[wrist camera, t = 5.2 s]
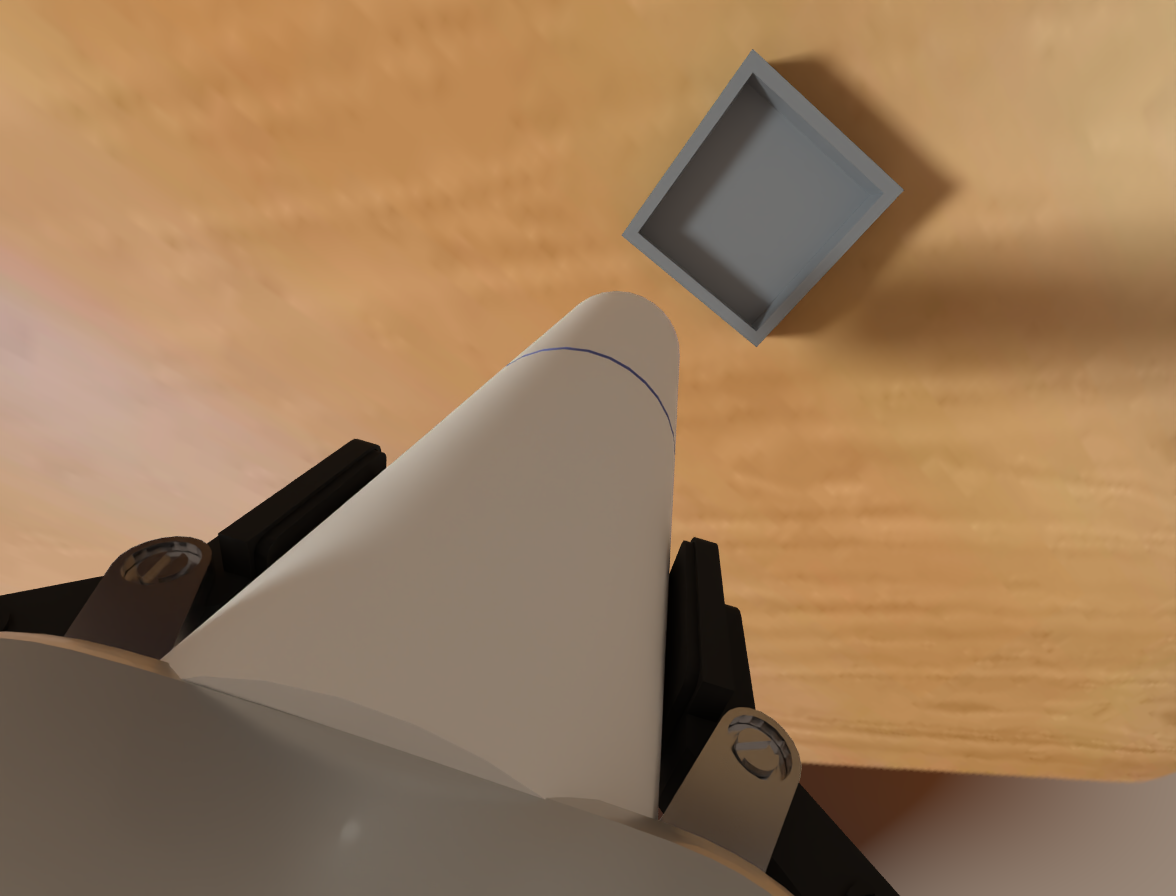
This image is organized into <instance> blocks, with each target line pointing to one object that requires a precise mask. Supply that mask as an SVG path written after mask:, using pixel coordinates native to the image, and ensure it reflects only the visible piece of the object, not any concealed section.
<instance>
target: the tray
mask: <svg viewBox="0 0 1176 896" xmlns="http://www.w3.org/2000/svg"><path fill="white" fill-rule="evenodd" d="M903 191H904V190H903V189H902V188H901V187H900V186H899V185H898V184H897V183H896V182H895V181H894V180H893V179H892V178H891V177H890V176H888V175H887V174H886V173H885V172H884V171H883V170H882V169H881V168H880V167H879V166H878V165H877V164H876V163H874V162H873V161H872V160H871V159H870V158H869V157H868V156H867V155H866V154H865V153H864V152H863V151H862V150H861V149H859V148H858V147H857V146H856V145H855V144H854V143H853V142H852V141H851V140H850V139H849V138H848V137H847V136H846V135H844V134H843V133H842V132H841V131H840V130H839V129H838V128H837V127H836V126H835V125H834V124H833V123H832V122H830V121H829V120H828V119H827V118H826V117H825V116H824V115H823V114H822V113H821V112H820V111H819V110H818V109H817V108H815V107H814V106H813V105H812V104H811V103H810V102H809V101H808V100H807V99H806V98H805V97H804V96H803V95H802V94H800V93H799V92H798V91H797V90H796V89H795V88H794V87H793V86H792V85H791V84H790V83H789V82H788V81H787V80H785V79H784V78H783V77H782V76H781V75H780V74H779V73H778V72H777V71H776V70H775V69H774V68H773V67H771V66H770V65H769V64H768V63H767V62H766V61H765V60H764V59H763V58H762V57H761V56H760V55H759V54H758V53H756V52H755V51H754V50H753V49H752V51H751V52H750V53H749V55H748V56H747V58H746V59H745V61H744V62H743V63H742V65H741V66H740V68H739V69H738V70H737V72H736V73H735V75H734V76H733V78H732V79H731V80H730V82H729V83H728V85H727V86H726V88H725V89H724V90H723V92H722V93H721V95H720V96H719V97H718V99H717V100H716V102H715V103H714V105H713V106H712V107H711V109H710V110H709V112H708V113H707V115H706V116H705V117H704V119H703V120H702V122H701V123H700V125H699V126H698V127H697V129H696V130H695V132H694V133H693V134H692V136H691V137H690V139H689V140H688V142H687V143H686V144H685V146H684V147H683V149H682V150H681V152H680V153H679V154H678V156H677V157H676V159H675V160H674V162H673V163H672V164H671V166H670V167H669V169H668V170H667V171H666V173H665V174H664V176H663V177H662V179H661V180H660V181H659V183H658V184H657V186H656V187H655V189H654V190H653V191H652V193H651V194H650V196H649V197H648V198H647V200H646V201H645V203H644V204H643V206H642V207H641V208H640V210H639V211H638V213H637V214H636V216H635V217H634V218H633V220H632V221H631V223H630V224H629V226H628V227H627V228H626V230H625V231H624V233H623V234H622V236H623V237H624V238H625V239H627V240H628V241H629V242H630V243H631V244H633V245H634V246H635V247H636V248H637V249H639V250H640V251H641V252H642V253H644V254H645V255H646V256H647V257H648V258H650V259H651V260H652V261H653V262H654V263H656V264H657V265H658V266H659V267H660V268H662V269H663V270H664V271H665V272H666V273H668V274H669V275H670V276H671V277H672V278H674V279H675V280H676V281H677V282H679V283H680V284H681V285H682V286H683V287H685V288H686V289H687V290H688V291H689V292H691V293H692V294H693V295H694V296H695V297H697V298H698V299H699V300H700V301H701V302H703V303H704V304H705V305H706V306H708V307H709V308H710V309H711V310H712V311H714V312H715V313H716V314H717V315H718V316H720V317H721V318H722V319H723V320H724V321H726V322H727V323H728V324H729V325H730V326H732V327H733V328H734V329H735V330H737V331H738V332H739V333H740V334H741V335H743V336H744V337H745V338H746V339H747V340H749V341H750V342H751V343H752V344H753V345H755V346H756V347H757V346H758V345H759V344H760V343H761V342H762V341H763V340H764V339H765V337H766V336H767V335H768V334H769V333H770V332H771V331H772V330H773V329H774V328H775V327H776V326H777V325H778V324H779V323H780V321H781V320H782V319H783V318H784V317H785V316H786V315H787V314H788V313H789V312H790V311H791V310H792V309H793V308H794V307H795V306H796V304H797V303H798V302H799V301H800V300H801V299H802V298H803V297H804V296H805V295H806V294H807V293H808V292H809V291H810V290H811V288H812V287H813V286H814V285H815V284H816V283H817V282H818V281H819V280H820V279H821V278H822V277H823V276H824V275H825V274H826V273H827V271H828V270H829V269H830V268H831V267H832V266H833V265H834V264H835V263H836V262H837V261H838V260H839V259H840V258H841V257H842V256H843V254H844V253H845V252H846V251H847V250H848V249H849V248H850V247H851V246H852V245H853V244H854V243H855V242H856V241H857V240H858V238H859V237H860V236H861V235H862V234H863V233H864V232H865V231H866V230H867V229H868V228H869V227H870V226H871V225H872V224H873V223H874V221H875V220H876V219H877V218H878V217H879V216H880V215H881V214H882V213H883V212H884V211H885V210H886V209H887V208H888V207H889V205H890V204H891V203H892V202H893V201H894V200H895V199H896V198H897V197H898V196H899V195H900V194H901V193H902V192H903Z"/></svg>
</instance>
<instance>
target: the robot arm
mask: <svg viewBox="0 0 1176 896" xmlns="http://www.w3.org/2000/svg"><path fill="white" fill-rule="evenodd" d="M385 469H386V454H385V453H383V452H381V448H380V446H379V445H376V444H373V443H369V442H366V441H363V440H359V439H353V440H351V441H350V442H348V443H347V444H346V445H344V446H343V447H341V448H340V449H338V450H337V451H336V452H334V453H333V454H331V455H330V456H328V457H327V458H325V459H324V460H323V461H321V462H320V463H318V464H317V465H315V466H314V467H313V468H311V469H310V470H308V471H307V472H305V473H304V474H303V475H301V476H300V477H298V478H297V479H295V480H294V481H293V482H291V483H290V484H288V485H287V486H285V487H284V488H283V489H281V490H280V491H278V492H277V493H275V494H274V495H273V496H271V497H270V498H268V499H267V500H265V501H264V502H262V503H261V504H260V505H258V506H257V507H255V508H254V509H252V510H251V511H250V512H248V513H247V514H245V515H244V516H242V517H241V518H240V519H238V520H237V521H235V522H234V523H232V524H231V525H230V526H228V527H227V528H225V529H224V530H222V531H221V532H220V533H218V536H217V537H216V538H214V539H213V540H211V541H210V542H209V543H207V544H206V543H205V542H203V541H202V540H199V539H196V538H192V537H181V536H174V537H165V538H159V539H155V540H151V541H147V542H144V543H142V544H140V545H137V546H135V547H133V548H131V549H129V550H128V551H126V552H124V553H123V554H121V555H120V556H119V557H118V558H117V559H116V560H115V561H114V562H113V563H112V564H111V566H110V567H109V569H108V570H107V572H106V573H105V575H104V576H101V577H95V578H90V579H85V580H80V581H74V582H69V583H64V584H59V585H54V586H48V587H43V588H38V589H33V590H27V591H22V592H17V593H12V594H6V595H1V596H0V896H899V894H898V893H897V892H896V891H895V890H894V889H893V888H892V886H891V885H890V884H889V883H888V882H887V881H886V880H885V879H884V877H883V876H882V875H881V874H880V873H879V872H878V871H877V870H876V869H875V867H874V866H873V865H872V864H871V863H870V862H869V861H868V860H867V858H866V857H865V856H864V855H863V854H862V853H861V852H860V851H859V849H858V848H857V847H856V846H855V845H854V844H853V843H852V842H851V841H850V839H849V838H848V837H847V836H846V835H845V834H844V833H843V832H842V830H841V829H840V828H839V827H838V826H837V825H836V824H835V823H834V821H833V820H832V819H831V818H830V817H829V816H828V815H827V814H826V813H825V811H824V810H823V809H822V808H821V807H820V806H819V805H818V804H817V803H816V801H815V800H814V799H813V798H812V797H811V796H810V795H809V793H808V792H807V791H806V790H805V789H804V788H803V787H802V786H801V785H800V783H799V780H800V774H801V768H802V766H801V761H800V756H799V753H798V751H797V748H796V746H795V744H794V742H793V740H792V739H791V738H790V736H789V735H788V734H787V732H786V731H785V730H784V729H783V728H782V727H781V726H780V725H779V724H778V723H777V722H776V721H775V720H774V719H772V718H771V717H769V716H767V715H766V714H764V713H762V712H760V711H757V710H755V703H754V697H753V690H752V684H751V677H750V670H749V664H748V657H747V651H746V644H745V638H744V631H743V625H742V618H741V614H740V610H739V609H738V608H736V607H733V606H729V605H726V604H725V602H724V593H723V585H722V576H721V567H720V559H719V550H718V545H717V544H716V543H713V542H710V541H706V540H703V539H699V538H696V537H694V538H693V539H692V540H691V542H688V541H683V542H682V544H681V546H680V549H679V551H678V554H677V556H676V559H675V561H674V564H673V566H672V569H671V571H670V574H669V588H668V609H667V631H666V652H665V674H664V695H663V717H662V738H661V760H660V781H659V803H658V806H659V808H660V809H661V811H662V812H663V816H662V818H661V819H660V821H658V820H656V819H653V818H650V817H647V816H644V815H641V814H638V813H636V812H633V811H630V810H627V809H624V808H621V807H618V806H615V805H612V804H610V803H607V802H604V801H601V800H596V799H585V798H571V797H556V798H546V799H542V798H539V797H536V796H533V795H530V794H527V793H524V792H521V791H518V790H516V789H513V788H510V787H507V786H504V785H501V784H498V783H495V782H492V781H489V780H486V779H483V778H480V777H477V776H474V775H471V774H469V773H466V772H463V771H460V770H457V769H454V768H451V767H448V766H445V765H442V764H439V763H436V762H433V761H430V760H427V759H424V758H422V757H419V756H416V755H413V754H410V753H407V752H404V751H401V750H398V749H395V748H392V747H389V746H386V745H383V744H380V743H377V742H374V741H371V740H368V739H365V738H362V737H359V736H356V735H353V734H350V733H347V732H344V731H341V730H338V729H335V728H332V727H329V726H326V725H323V724H319V723H316V722H313V721H310V720H307V719H304V718H301V717H298V716H295V715H292V714H289V713H286V712H283V711H280V710H276V709H273V708H270V707H267V706H264V705H261V704H258V703H254V702H251V701H248V700H245V699H242V698H239V697H236V696H232V695H229V694H226V693H223V692H220V691H217V690H214V689H210V688H207V687H204V686H201V685H198V684H195V683H192V682H189V681H185V680H182V679H180V677H179V676H178V675H177V674H176V672H175V671H174V670H173V669H172V668H171V667H170V665H169V663H168V662H164V661H161V660H160V659H162V658H163V657H164V656H165V655H166V654H168V653H169V652H170V651H171V650H172V649H173V648H175V647H176V646H177V645H178V644H179V643H181V642H182V641H183V640H184V639H185V638H186V637H188V636H189V635H190V634H191V633H192V632H193V631H195V630H196V629H197V628H198V627H199V626H201V625H202V624H203V623H204V622H205V621H206V620H208V619H209V618H210V617H211V616H212V615H214V614H215V613H216V612H217V611H218V610H219V609H221V608H222V607H223V606H224V605H225V604H227V603H228V602H229V601H230V600H231V599H232V598H234V597H235V596H236V595H237V594H238V593H239V592H241V591H242V590H243V589H244V588H245V587H247V586H248V585H249V584H250V583H251V582H252V581H254V580H255V579H256V578H257V577H258V576H260V575H261V574H262V573H263V572H264V571H265V570H267V569H268V568H269V567H270V566H271V565H273V564H274V563H275V562H276V561H277V560H278V559H280V558H281V557H282V556H283V555H284V554H286V553H287V552H288V551H289V550H290V549H291V548H293V547H294V546H295V545H296V544H297V543H298V542H300V541H301V540H302V539H303V538H304V537H306V536H307V535H308V534H309V533H310V532H311V531H313V530H314V529H315V528H316V527H317V526H319V525H320V524H321V523H322V522H323V521H324V520H326V519H327V518H328V517H329V516H330V515H332V514H333V513H334V512H335V511H336V510H337V509H339V508H340V507H341V506H342V505H343V504H344V503H346V502H347V501H348V500H349V499H350V498H352V497H353V496H354V495H355V494H356V493H357V492H359V491H360V490H361V489H362V488H363V487H365V486H366V485H367V484H368V483H369V482H370V481H372V480H373V479H374V478H375V477H376V476H378V475H379V474H380V473H381V472H382V471H383V470H385Z"/></svg>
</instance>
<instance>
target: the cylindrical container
mask: <svg viewBox="0 0 1176 896" xmlns="http://www.w3.org/2000/svg"><path fill="white" fill-rule="evenodd" d="M679 360H680V354H679V342H678V339H677V335H676V331H675V329H674V327H673V326H672V324H671V322H670V320H669V319H668V317H667V316H666V315H665V313H664V312H663V311H662V310H661V309H660V308H659V307H657V306H656V305H655V304H654V303H653V302H651V301H649V300H647V299H646V298H644V297H642V296H639V295H636V294H633V293H630V292H620V291H613V292H604V293H600V294H597V295H594V296H591V297H589V298H588V299H586V300H584V301H583V302H581V303H580V304H578V305H577V306H576V307H575V308H574V309H573V310H571V311H570V312H569V313H568V314H567V315H566V316H564V317H563V318H562V319H561V320H560V321H559V322H557V323H556V324H555V325H554V326H553V327H552V328H550V329H549V330H548V331H547V332H546V333H544V334H543V335H542V336H541V337H540V338H539V339H537V340H536V341H535V342H534V343H533V344H531V345H530V346H529V347H528V348H527V349H526V350H524V351H523V352H522V353H521V354H520V355H518V356H517V357H516V358H515V359H514V360H512V361H511V362H510V363H509V364H508V365H507V366H506V367H504V368H503V369H502V370H501V371H500V372H498V373H497V374H496V375H495V376H494V377H493V378H491V379H490V380H489V381H488V382H487V383H485V384H484V385H483V386H482V387H481V388H480V389H478V390H477V391H476V392H475V393H474V394H473V395H471V396H470V397H469V398H468V399H467V400H466V401H464V402H463V403H462V404H461V405H460V406H459V407H457V408H456V409H455V410H454V411H453V412H452V413H450V414H449V415H448V416H447V417H446V418H445V419H443V420H442V421H441V422H440V423H439V424H438V425H436V426H435V427H434V428H433V429H432V430H430V431H429V432H428V433H427V434H426V435H425V436H423V437H422V438H421V439H420V440H419V441H418V442H416V443H415V444H414V445H413V446H412V447H411V448H409V449H408V450H407V451H406V452H405V453H403V454H402V455H401V456H400V457H399V458H398V459H396V460H395V461H394V462H393V463H392V464H391V465H389V466H388V467H387V468H386V469H385V470H383V471H382V472H381V473H380V474H379V475H378V476H376V477H375V478H374V479H373V480H372V481H370V482H369V483H368V484H367V485H366V486H365V487H363V488H362V489H361V490H360V491H359V492H357V493H356V494H355V495H354V496H353V497H352V498H350V499H349V500H348V501H347V502H346V503H344V504H343V505H342V506H341V507H340V508H339V509H337V510H336V511H335V512H334V513H333V514H332V515H330V516H329V517H328V518H327V519H326V520H324V521H323V522H322V523H321V524H320V525H319V526H317V527H316V528H315V529H314V530H313V531H311V532H310V533H309V534H308V535H307V536H306V537H304V538H303V539H302V540H301V541H300V542H298V543H297V544H296V545H295V546H294V547H293V548H291V549H290V550H289V551H288V552H287V553H286V554H284V555H283V556H282V557H281V558H280V559H278V560H277V561H276V562H275V563H274V564H273V565H271V566H270V567H269V568H268V569H267V570H265V571H264V572H263V573H262V574H261V575H260V576H258V577H257V578H256V579H255V580H254V581H252V582H251V583H250V584H249V585H248V586H247V587H245V588H244V589H243V590H242V591H241V592H239V593H238V594H237V595H236V596H235V597H234V598H232V599H231V600H230V601H229V602H228V603H227V604H225V605H224V606H223V607H222V608H221V609H219V610H218V611H217V612H216V613H215V614H214V615H212V616H211V617H210V618H209V619H208V620H206V621H205V622H204V623H203V624H202V625H201V626H199V627H198V628H197V629H196V630H195V631H193V632H192V633H191V634H190V635H189V636H188V637H186V638H185V639H184V640H183V641H182V642H181V643H179V644H178V645H177V646H176V647H175V648H173V649H172V650H171V651H170V652H169V653H168V654H166V655H165V656H164V657H163V658H162V659H160V660H161V661H164V662H168V663H169V665H170V667H171V668H172V669H173V670H174V671H175V672H176V674H177V675H178V676H179V677H180V679H182V680H185V681H189V682H192V683H195V684H198V685H201V686H204V687H207V688H210V689H214V690H217V691H220V692H223V693H226V694H229V695H232V696H236V697H239V698H242V699H245V700H248V701H251V702H254V703H258V704H261V705H264V706H267V707H270V708H273V709H276V710H280V711H283V712H286V713H289V714H292V715H295V716H298V717H301V718H304V719H307V720H310V721H313V722H316V723H319V724H323V725H326V726H329V727H332V728H335V729H338V730H341V731H344V732H347V733H350V734H353V735H356V736H359V737H362V738H365V739H368V740H371V741H374V742H377V743H380V744H383V745H386V746H389V747H392V748H395V749H398V750H401V751H404V752H407V753H410V754H413V755H416V756H419V757H422V758H424V759H427V760H430V761H433V762H436V763H439V764H442V765H445V766H448V767H451V768H454V769H457V770H460V771H463V772H466V773H469V774H471V775H474V776H477V777H480V778H483V779H486V780H489V781H492V782H495V783H498V784H501V785H504V786H507V787H510V788H513V789H516V790H518V791H521V792H524V793H527V794H530V795H533V796H536V797H539V798H542V799H546V798H556V797H571V798H585V799H596V800H601V801H604V802H607V803H610V804H612V805H615V806H618V807H621V808H624V809H627V810H630V811H633V812H636V813H638V814H641V815H644V816H647V817H650V818H653V819H656V820H658V803H659V781H660V760H661V738H662V717H663V695H664V674H665V652H666V631H667V609H668V588H669V567H670V547H671V526H672V506H673V486H674V465H675V444H676V422H677V400H678V379H679Z"/></svg>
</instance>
